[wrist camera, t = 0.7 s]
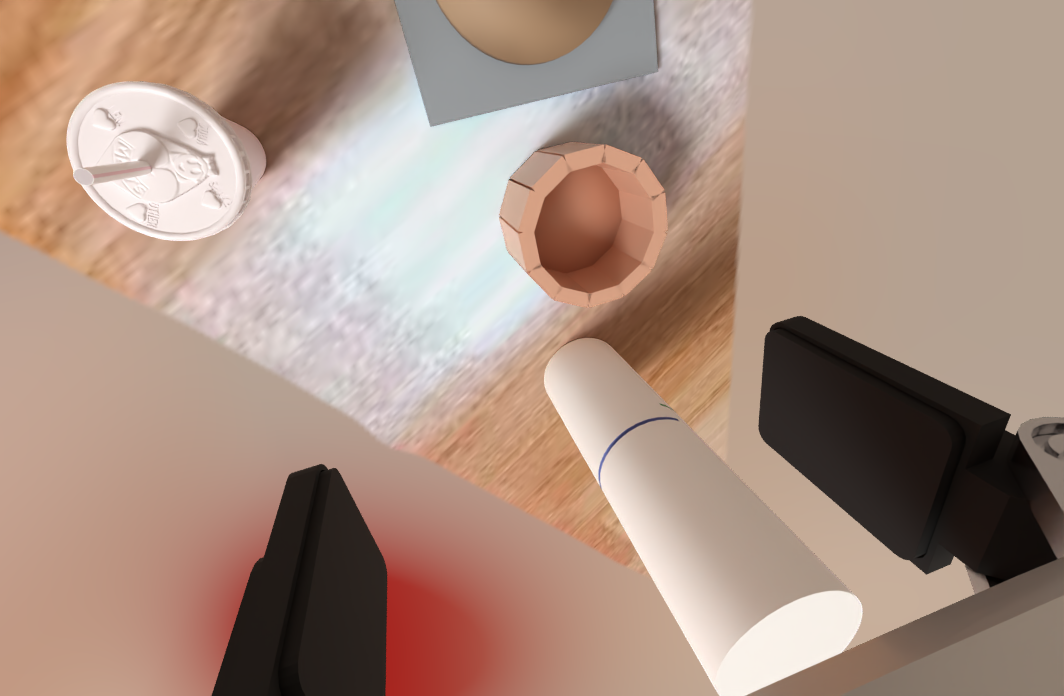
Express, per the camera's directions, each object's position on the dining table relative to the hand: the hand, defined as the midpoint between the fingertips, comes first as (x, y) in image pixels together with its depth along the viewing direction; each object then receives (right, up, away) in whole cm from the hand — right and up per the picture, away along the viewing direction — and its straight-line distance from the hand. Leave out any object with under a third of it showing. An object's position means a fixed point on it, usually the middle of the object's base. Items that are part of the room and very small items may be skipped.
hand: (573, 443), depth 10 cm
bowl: (+2, +12, +25) cm, 28 cm away
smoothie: (-19, +14, +18) cm, 30 cm away
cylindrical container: (+4, 0, +32) cm, 32 cm away
